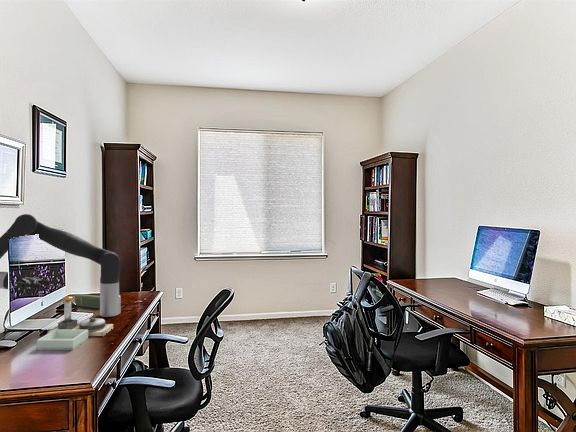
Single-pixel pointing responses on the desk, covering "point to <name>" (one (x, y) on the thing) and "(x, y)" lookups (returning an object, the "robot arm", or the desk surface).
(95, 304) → the handheld radio
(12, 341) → the desk surface
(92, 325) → the tensioner bracket
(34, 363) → the desk surface
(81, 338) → the tray
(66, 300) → the orange capped tube
